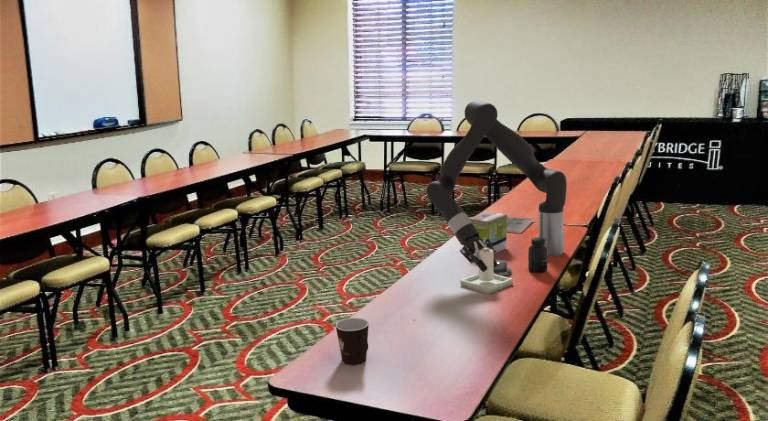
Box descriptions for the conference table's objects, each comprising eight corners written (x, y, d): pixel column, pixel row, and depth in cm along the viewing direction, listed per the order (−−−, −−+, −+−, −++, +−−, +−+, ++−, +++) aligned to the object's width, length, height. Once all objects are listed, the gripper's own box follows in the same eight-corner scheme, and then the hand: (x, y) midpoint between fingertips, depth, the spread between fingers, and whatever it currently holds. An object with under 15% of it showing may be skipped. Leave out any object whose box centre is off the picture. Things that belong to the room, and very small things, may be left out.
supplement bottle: (547, 274, 232) (548, 241, 229) (528, 273, 233) (528, 241, 231) (547, 268, 238) (547, 236, 236) (528, 267, 240) (528, 236, 237)
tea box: (489, 257, 254) (489, 221, 251) (467, 254, 260) (466, 218, 257) (507, 248, 266) (507, 213, 263) (485, 245, 272) (485, 210, 269)
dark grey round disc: (497, 267, 242) (496, 257, 241) (516, 272, 235) (516, 261, 234) (481, 273, 236) (481, 262, 235) (501, 278, 229) (500, 267, 228)
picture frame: (498, 220, 314) (485, 231, 295) (498, 215, 314) (485, 226, 295) (532, 223, 307) (521, 234, 288) (532, 217, 306) (521, 229, 288)
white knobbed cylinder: (485, 275, 226) (485, 245, 224) (496, 278, 223) (496, 248, 220) (475, 279, 223) (475, 248, 221) (487, 282, 220) (486, 251, 217)
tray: (484, 276, 232) (484, 271, 232) (512, 284, 223) (512, 278, 222) (460, 285, 224) (460, 280, 224) (489, 293, 215) (488, 288, 214)
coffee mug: (337, 354, 175) (335, 319, 173) (369, 351, 176) (367, 316, 174) (338, 373, 164) (335, 336, 162) (372, 371, 164) (370, 334, 162)
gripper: (454, 226, 220) (482, 267, 214) (482, 218, 229) (510, 257, 223) (443, 239, 225) (470, 279, 219) (471, 230, 234) (497, 269, 228)
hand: (490, 268), depth 221 cm, fingers closed on white knobbed cylinder, 4 cm apart
